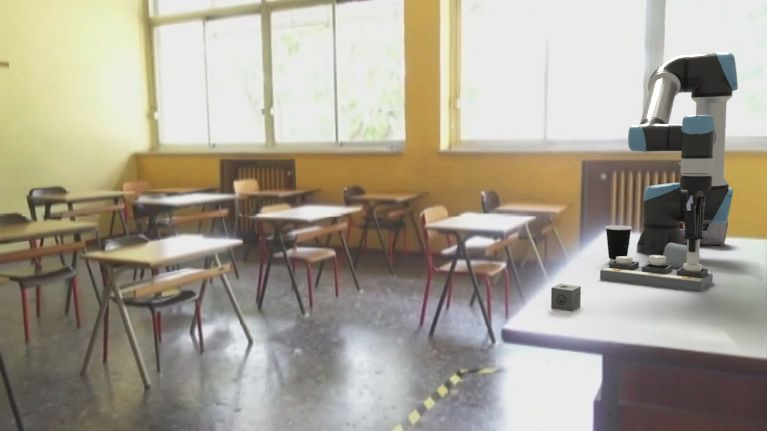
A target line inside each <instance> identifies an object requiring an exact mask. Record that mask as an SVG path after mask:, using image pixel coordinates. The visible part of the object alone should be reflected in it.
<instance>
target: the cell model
mask: <svg viewBox="0 0 767 431" xmlns="http://www.w3.org/2000/svg"><path fill="white" fill-rule="evenodd" d="M728 228H729V219H728V220H727V221H726V222H725V223H720V224H710V223H703V230H702V237H703V239H699V240H700V246H701V245H702V246H709V245H710V246H712V245H713V246H714V245H720V246H721V245H724V244H725V242H726V238H727V233H728ZM680 232H681V235H682V238H683V241H684V244H685V245H686V246H687V239H684V237H685V223H683V222H680Z"/></svg>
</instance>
